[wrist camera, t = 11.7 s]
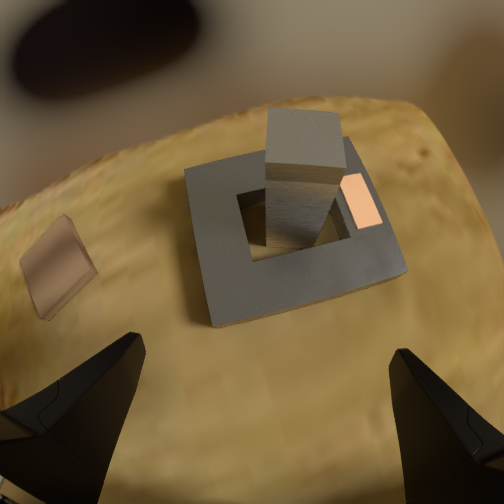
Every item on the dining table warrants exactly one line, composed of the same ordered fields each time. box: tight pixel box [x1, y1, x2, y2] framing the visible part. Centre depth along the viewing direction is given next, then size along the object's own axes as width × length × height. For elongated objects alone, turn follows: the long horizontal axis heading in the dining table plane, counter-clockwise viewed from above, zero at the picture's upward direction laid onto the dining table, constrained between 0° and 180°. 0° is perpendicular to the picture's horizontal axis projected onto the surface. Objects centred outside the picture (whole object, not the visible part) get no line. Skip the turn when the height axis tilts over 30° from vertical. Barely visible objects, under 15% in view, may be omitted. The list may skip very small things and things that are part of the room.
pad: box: [20, 214, 98, 321], centre depth 24 cm, size 8×8×2 cm
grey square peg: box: [265, 108, 347, 249], centre depth 19 cm, size 4×4×12 cm
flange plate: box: [184, 136, 408, 328], centre depth 24 cm, size 14×16×3 cm
